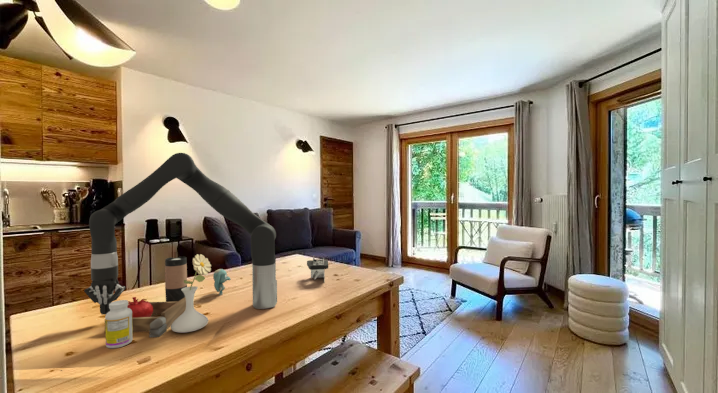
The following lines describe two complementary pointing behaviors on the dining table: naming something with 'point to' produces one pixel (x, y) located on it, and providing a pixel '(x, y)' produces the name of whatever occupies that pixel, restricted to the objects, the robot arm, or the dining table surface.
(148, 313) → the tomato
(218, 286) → the teal character figurine
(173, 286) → the travel mug
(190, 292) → the flower in vase
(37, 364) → the dining table surface
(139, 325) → the brown wooden open box
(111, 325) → the supplement bottle
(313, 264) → the black-topped pedestal
